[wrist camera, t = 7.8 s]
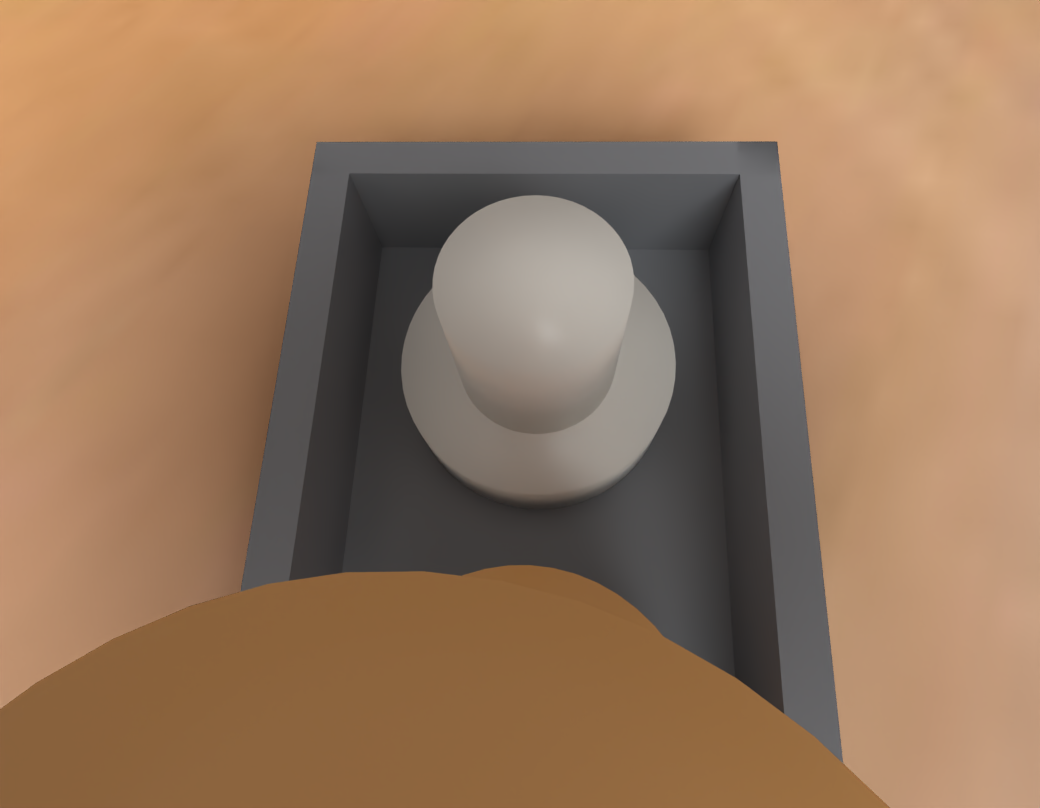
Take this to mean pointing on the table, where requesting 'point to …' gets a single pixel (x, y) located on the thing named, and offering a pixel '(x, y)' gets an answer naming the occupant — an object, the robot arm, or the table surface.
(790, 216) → the table surface
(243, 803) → the mushroom shaped handle
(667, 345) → the grey storage tray
